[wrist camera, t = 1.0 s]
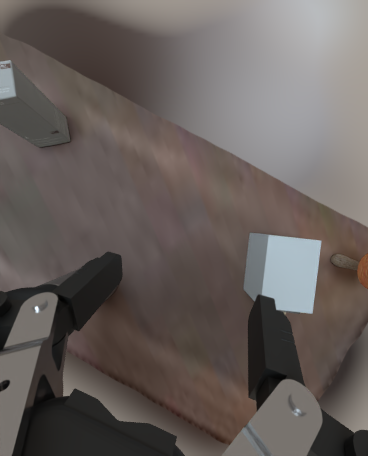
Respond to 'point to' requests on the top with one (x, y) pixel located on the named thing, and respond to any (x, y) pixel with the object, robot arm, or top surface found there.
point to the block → (283, 271)
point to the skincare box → (29, 109)
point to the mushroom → (353, 266)
